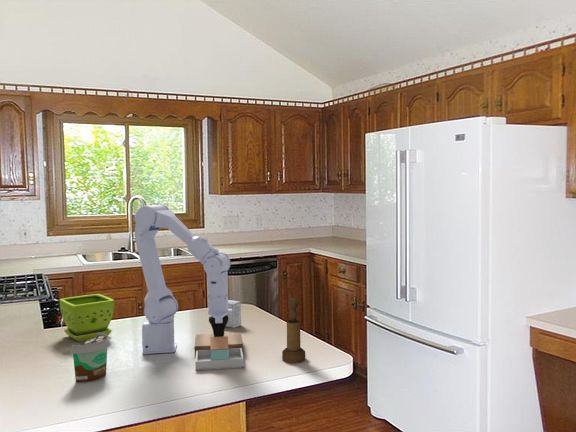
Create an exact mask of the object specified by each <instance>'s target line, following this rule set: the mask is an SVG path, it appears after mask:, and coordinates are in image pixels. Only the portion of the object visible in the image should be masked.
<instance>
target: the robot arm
mask: <svg viewBox="0 0 576 432" xmlns="http://www.w3.org/2000/svg"><path fill="white" fill-rule="evenodd" d="M134 221H135V228H134V239H135V243H136V249H137V252H138V256H139V260H140V264H141V268H142V273H143V276H144V280H145V284H146V289H147V293H146V295H145V297H144V298H143V299H144V300H143V301H144V309H143V310H144V312H143V313H144V316H145V319H146V320H147V321H143V322H142V326H141V327H142V328H141V336H142V337H141V340H142V341H141V344H142V345H141V347H142V354H143V355H149V354H151V355H153V354H165V353H166V354H167V353H168V354H169V353H175V352H176V348H177V346H178V345H177V344H178V343H177V342H175V315H176V314H177V312H178V309H179V305H178V301H177V299H176V298H175V297H174V294H173V292H172V290H171V289H169V288H168V286H166V281H165V278H164V273H163V268H162V264H161V261H160V256H159V253H158V248H157V244H156V241H155V236H156V235H157V234H158V232H159V230H161V229H167V230H168V231H170V232H171V233H172V234H173V235H175V237H178V238H179V240H181V241H182V242H183V243H185V244H186V245H187V252H189V253H190V255H192V256H193V257H194V258H195V259H196V260H197V261H198V262H199V263H201V264H202V266H203V269H204V271H205V273H206V275H207V295H208V296H207V303H208V305H207V307H208V309H207V314H208V316H209V317H208V323H209V324H210V326H211V328H212V332H213V333H212V334H214V337H224V333H225V331H226V324H227V322H228V315H227V314H228V313H232V309H228V300H229V284H228V281H229V280H228V279H229V278H228V275H229V274H228V271H229V269H230V268H231V265H232V264H231V258H229V256H228V255H227V253H225V252H220V250H219V249H217V248H215V247H214V246H213V245H212V244H211V243H209V241H208V240H209V239H208V238H207V237H203V236H200V235H199V236H196V235H195V234H194V233H193V232H192V231H191V230H190V229H189V228H188V227H187V226H186V225H185V224H184V223H183V222H182V221H181V220H180V219H179V218H178V217H177V216H176V215H175V212H174V211H173V210H172V209H170V208H169V207H168V206H167V205H165V204H156V205H142V206H141V207H139V208H138V209H137V211H136V212H135V214H134Z"/></svg>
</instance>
